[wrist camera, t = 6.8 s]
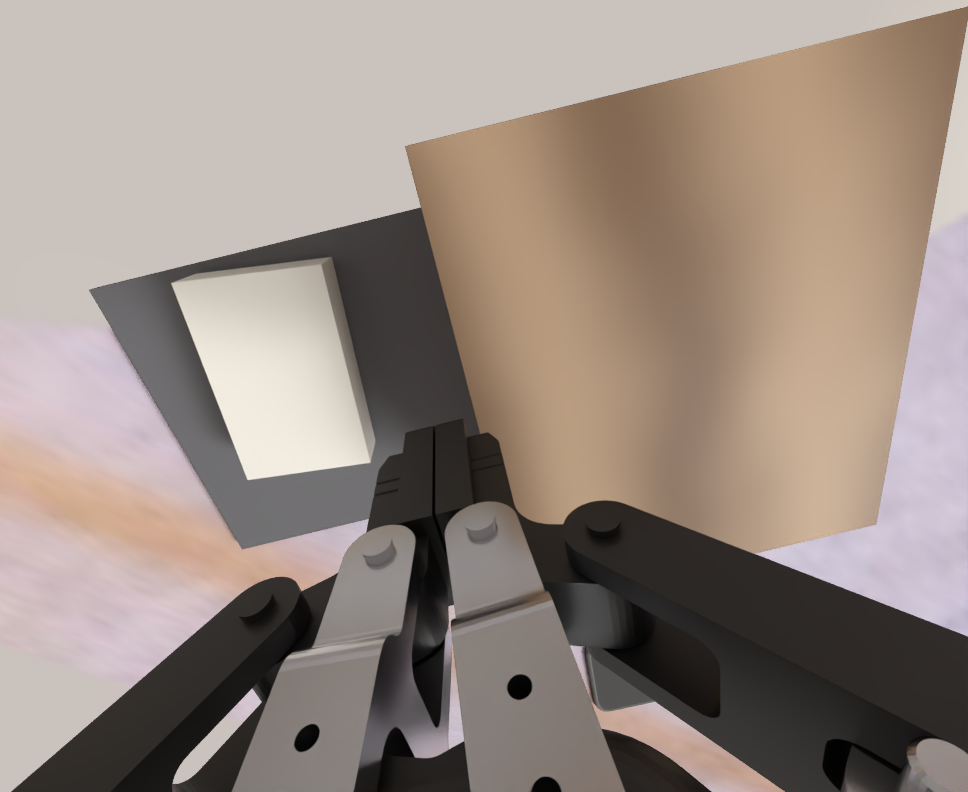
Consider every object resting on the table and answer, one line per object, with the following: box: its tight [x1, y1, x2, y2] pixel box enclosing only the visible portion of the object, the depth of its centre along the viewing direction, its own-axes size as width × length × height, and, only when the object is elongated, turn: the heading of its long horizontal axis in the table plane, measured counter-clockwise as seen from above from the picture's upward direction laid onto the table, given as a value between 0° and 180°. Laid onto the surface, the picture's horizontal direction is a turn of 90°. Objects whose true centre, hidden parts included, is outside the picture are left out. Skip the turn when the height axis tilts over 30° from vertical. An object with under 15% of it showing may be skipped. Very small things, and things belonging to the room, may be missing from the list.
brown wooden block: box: [405, 7, 968, 554], centre depth 16 cm, size 12×14×8 cm
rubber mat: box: [89, 208, 480, 549], centre depth 20 cm, size 13×13×1 cm
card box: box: [171, 257, 376, 480], centre depth 18 cm, size 5×8×2 cm, turn 6°
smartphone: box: [585, 647, 655, 711], centre depth 30 cm, size 7×1×15 cm
